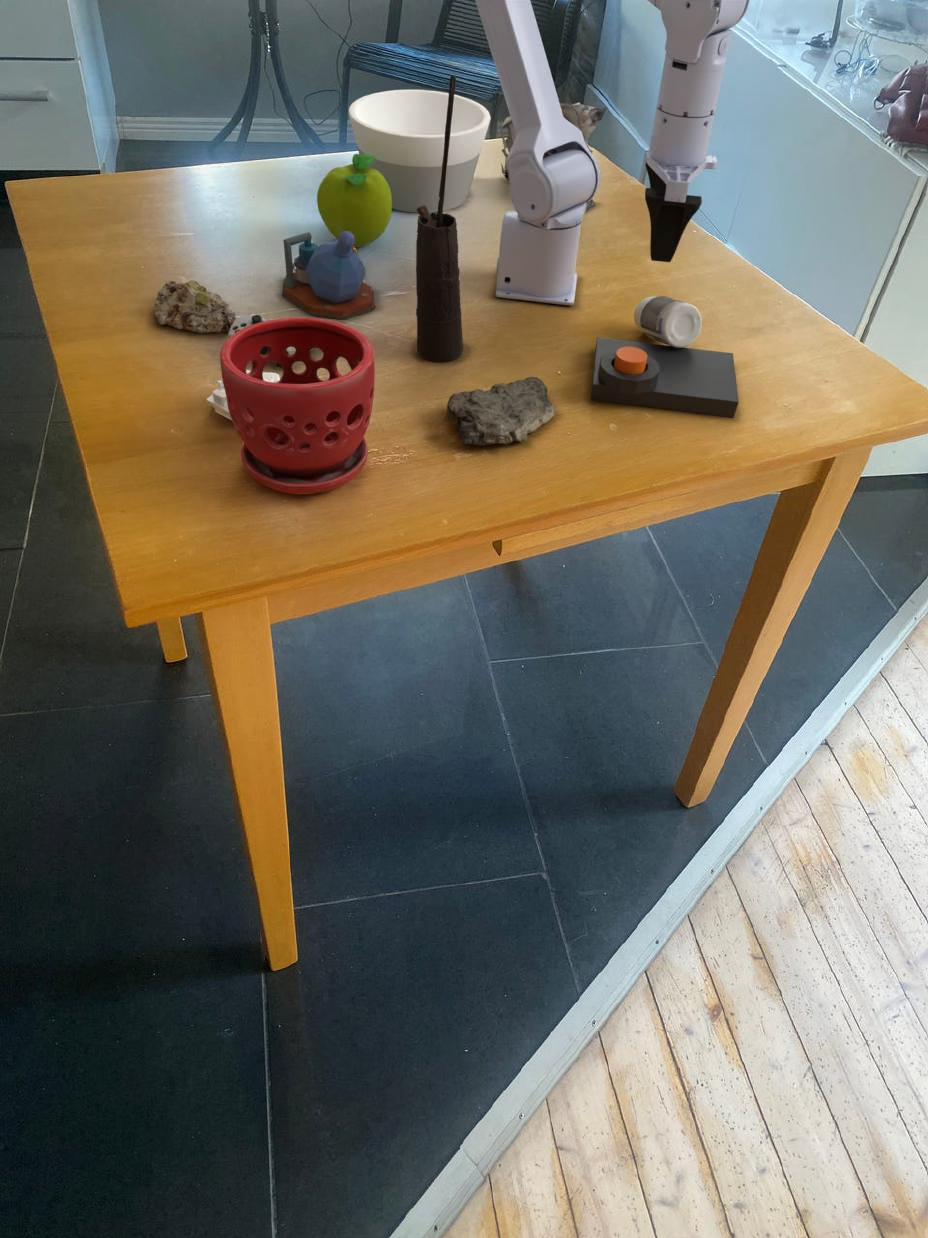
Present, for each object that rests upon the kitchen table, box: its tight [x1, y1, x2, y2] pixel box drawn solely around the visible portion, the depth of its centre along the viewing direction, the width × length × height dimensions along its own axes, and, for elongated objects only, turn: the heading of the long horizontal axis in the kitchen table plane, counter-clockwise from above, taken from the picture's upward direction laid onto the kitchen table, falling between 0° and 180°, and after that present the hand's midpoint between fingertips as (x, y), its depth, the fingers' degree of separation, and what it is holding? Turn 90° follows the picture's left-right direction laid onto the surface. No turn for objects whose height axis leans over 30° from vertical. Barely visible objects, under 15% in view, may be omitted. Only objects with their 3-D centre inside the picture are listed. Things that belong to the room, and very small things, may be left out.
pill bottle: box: [633, 295, 703, 348], centre depth 106 cm, size 5×5×8 cm
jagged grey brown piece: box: [500, 102, 607, 211], centre depth 133 cm, size 15×4×13 cm, turn 54°
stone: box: [446, 376, 555, 446], centre depth 94 cm, size 14×8×3 cm, turn 123°
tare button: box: [614, 347, 647, 375], centre depth 98 cm, size 3×3×2 cm
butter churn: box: [415, 74, 464, 363], centre depth 96 cm, size 9×10×28 cm
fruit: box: [316, 153, 393, 248], centre depth 120 cm, size 9×9×10 cm
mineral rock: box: [154, 279, 236, 334], centre depth 106 cm, size 11×4×8 cm
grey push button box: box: [590, 336, 740, 418], centre depth 101 cm, size 15×11×4 cm
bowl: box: [348, 89, 491, 214], centre depth 132 cm, size 19×19×11 cm
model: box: [281, 231, 377, 321], centre depth 109 cm, size 12×9×9 cm
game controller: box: [227, 314, 316, 368], centre depth 102 cm, size 10×5×6 cm
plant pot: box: [219, 316, 376, 495], centre depth 85 cm, size 13×13×12 cm
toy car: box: [206, 369, 281, 421], centre depth 94 cm, size 5×8×4 cm, turn 142°
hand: (660, 245), depth 103 cm, fingers open, 7 cm apart
